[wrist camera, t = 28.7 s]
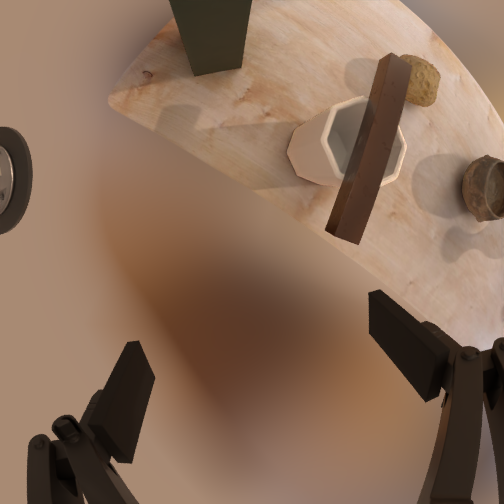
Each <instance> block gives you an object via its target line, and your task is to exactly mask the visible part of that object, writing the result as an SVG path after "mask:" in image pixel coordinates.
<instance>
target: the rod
mask: <svg viewBox="0 0 504 504" xmlns="http://www.w3.org/2000/svg"><path fill="white" fill-rule="evenodd" d="M411 70H412V65H410V64H409V63H407V62H406V61H404V60H403V59H401V58H400V57H398V56H396V55H395V54H393V53H390V54H388V55H386V56H385V57H383V58H382V59H380V60H379V63H378V67H377V71H376V75H375V78H374V82H373V86H372V89H371V93H370V96H369V100H368V103H367V106H366V110H365V113H364V116H363V120H362V123H361V126H360V129H359V133H358V136H357V139H356V142H355V145H354V148H353V151H352V154H351V157H350V160H349V163H348V166H347V169H346V172H345V175H344V178H343V181H342V184H341V187H340V190H339V192H338V195H337V198H336V201H335V204H334V206H333V209H332V212H331V215H330V217H329V220H328V223H327V225H326V228H325V231H327V232H328V233H330V234H332V235H333V236H335V237H338V238H341V239H343V240H346V241H349V242H351V243H354V244H357V245H359V243H360V240H361V238H362V235H363V232H364V230H365V227H366V225H367V222H368V219H369V216H370V214H371V211H372V208H373V205H374V202H375V200H376V197H377V194H378V191H379V188H380V185H381V182H382V179H383V176H384V173H385V169H386V166H387V163H388V160H389V157H390V153H391V150H392V146H393V143H394V140H395V136H396V132H397V129H398V125H399V121H400V117H401V114H402V110H403V106H404V102H405V97H406V93H407V89H408V84H409V80H410V75H411Z"/></svg>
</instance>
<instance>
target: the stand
mask: <svg viewBox="0 0 504 504" xmlns="http://www.w3.org/2000/svg"><path fill="white" fill-rule="evenodd" d="M169 1H170V5H171V7H172V11H173V14H174V17H175V20H176V23H177V26H178V29H179V32H180V35H181V38H182V41H183V44H184V47H185V50H186V53H187V56H188V59H189V62H190V65H191V68H192V71H193V74H194V76H199V75H204V74H209V73H214V72H219V71H225V70H231V69H237V68H241V66H242V60H243V53H244V46H245V40H246V34H247V27H248V21H249V15H250V9H251V4H252V0H169Z"/></svg>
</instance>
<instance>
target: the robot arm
mask: <svg viewBox="0 0 504 504" xmlns="http://www.w3.org/2000/svg"><path fill="white" fill-rule="evenodd" d="M15 181H16V173H15V165H14V161H13V158H12V156H11V154H10V152H9V151H8V149H7V148H5V147H4V146H2V145H0V215H2V214H3V213H4V212H5V211H6V210H7V208H8V207H9V205H10V203H11V200H12V198H13V194H14V189H15ZM368 295H369V334H370V335H371V336H372V337H373V338H374V339H375V341H376V342H377V343H378V344H379V346H380V347H381V348H382V349H383V350H384V352H385V353H386V354H387V355H388V356H389V358H390V359H391V360H392V361H393V363H394V364H395V365H396V366H397V368H398V369H399V370H400V371H401V372H402V374H403V375H404V376H405V377H406V378H407V380H408V381H409V382H410V384H411V385H412V386H413V387H414V389H415V390H416V391H417V392H418V394H419V395H420V396H421V397H422V399H423V400H424V401H425V402H428V401H430V400H432V399H434V398H436V397H438V396H439V393H440V390H441V387H442V388H443V389H444V390H445V391H446V393H445V396H444V399H443V402H442V406H441V407H442V414H441V420H440V424H439V429H438V434H437V438H436V442H435V446H434V450H433V454H432V458H431V462H430V465H429V469H428V472H427V475H426V478H425V482H424V485H423V488H422V490H421V493H420V496H419V499H418V502H417V504H473V501H472V500H471V493H472V488H473V483H474V478H475V473H476V467H477V461H478V454H479V447H480V438H481V427H482V411H483V402H484V406H485V410H486V414H487V419H488V423H489V428H490V433H491V438H492V444H493V450H494V456H495V463H496V471H497V481H498V491H499V504H504V337H501V338H498V339H496V340H495V341H494V344H493V347H492V349H489V350H485V351H481V352H480V351H479V350H478V349H477V348H475V347H471V346H465V347H462V346H460V345H459V344H458V343H457V342H456V341H455V340H453V339H452V338H451V337H450V336H449V335H447V334H446V333H445V332H444V331H443V330H441V329H440V328H439V327H438V326H436V325H435V324H433V323H430V322H428V321H424V322H422V323H420V322H419V321H417V320H416V319H415V318H414V317H413V316H412V315H410V314H409V313H408V312H407V311H406V310H405V309H403V308H402V307H401V306H400V305H398V304H397V303H396V302H395V301H394V300H392V299H391V298H390V297H389V296H388V295H386V294H385V293H384V292H383V291H381V290H376V291H373V292H369V293H368ZM154 381H155V376H154V374H153V371H152V369H151V367H150V365H149V363H148V360H147V358H146V356H145V354H144V352H143V349H142V346H141V344H140V342H139V341H132V342H127V344H126V346H125V347H124V350H123V351H122V353H121V355H120V357H119V359H118V361H117V363H116V365H115V367H114V369H113V371H112V373H111V375H110V377H109V379H108V381H107V383H106V385H105V387H104V389H103V390H98V391H97V392H96V393H95V394H94V395H93V396H92V398H91V400H90V402H89V404H88V406H87V408H86V410H85V412H84V414H83V416H82V418H81V420H80V422H79V423H78V422H77V421H76V419H75V418H74V417H73V416H72V415H64V416H61V417H59V418H57V419H56V420H55V421H54V423H53V425H52V431H53V432H54V434H55V435H56V436H57V437H58V439H59V440H54V441H51V440H50V439H49V438H48V437H47V436H46V435H44V434H39V435H36V436H34V437H33V438H32V439H31V440H30V442H29V445H28V459H27V501H28V503H27V504H85V503H84V498H83V494H84V496H85V498H86V500H87V502H88V504H139V503H138V501H137V500H136V499H135V497H134V496H133V495H132V493H131V492H130V490H129V489H128V488H127V486H126V485H125V483H124V482H123V480H122V479H121V477H120V476H119V474H118V473H117V471H116V470H115V468H114V466H113V465H112V464H111V463H110V459H111V456H113V458H114V459H115V460H116V461H117V462H118V463H130V464H131V463H132V461H133V457H134V453H135V449H136V446H137V442H138V438H139V434H140V430H141V427H142V423H143V419H144V415H145V412H146V408H147V405H148V401H149V398H150V394H151V391H152V387H153V384H154ZM82 492H83V493H82Z"/></svg>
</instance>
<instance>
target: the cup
mask: <svg viewBox="0 0 504 504" xmlns="http://www.w3.org/2000/svg"><path fill="white" fill-rule="evenodd" d="M368 100H369V98H367V97H365V96H360V97H357V98H354V99H350V100H347V101H344V102H341V103H338V104H336V105H333V106H331V107H330V108H328V109H326V110H325V111H323V112H321V113H320V114H318V115H317V116H315V117H313V118H312V119H310V120H309V121H307V122H305V123H304V124H302V125H301V126H299V127H297V128H296V129H295V130H294V132H293V135H292V138H291V141H290V143H289V146H288V149H287V155H288V157H289V159H290V161H291V164H292V166H293V168H294V170H295V172H296V175H297V176H299V177H302V178H304V179H307V180H309V181H311V182H314V183H316V184H319V185H325V186H333V187H341V184H342V181H343V178H344V175H345V172H346V169H347V166H348V163H349V160H350V157H351V154H352V151H353V148H354V145H355V142H356V139H357V136H358V133H359V129H360V126H361V123H362V120H363V116H364V113H365V110H366V106H367V103H368ZM406 148H407V146H406V142H405V140H404V137H403V135H402V132H401V129H400V127H399V125H398V129H397V132H396V136H395V140H394V143H393V146H392V150H391V153H390V157H389V160H388V163H387V166H386V169H385V173H384V176H383V179H382V182H381V185H380V187H381V186H383V185H385V184H387V183H389V182H391V181H393V180H395V179H397V177H398V174H399V171H400V168H401V165H402V162H403V158H404V155H405V152H406Z"/></svg>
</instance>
